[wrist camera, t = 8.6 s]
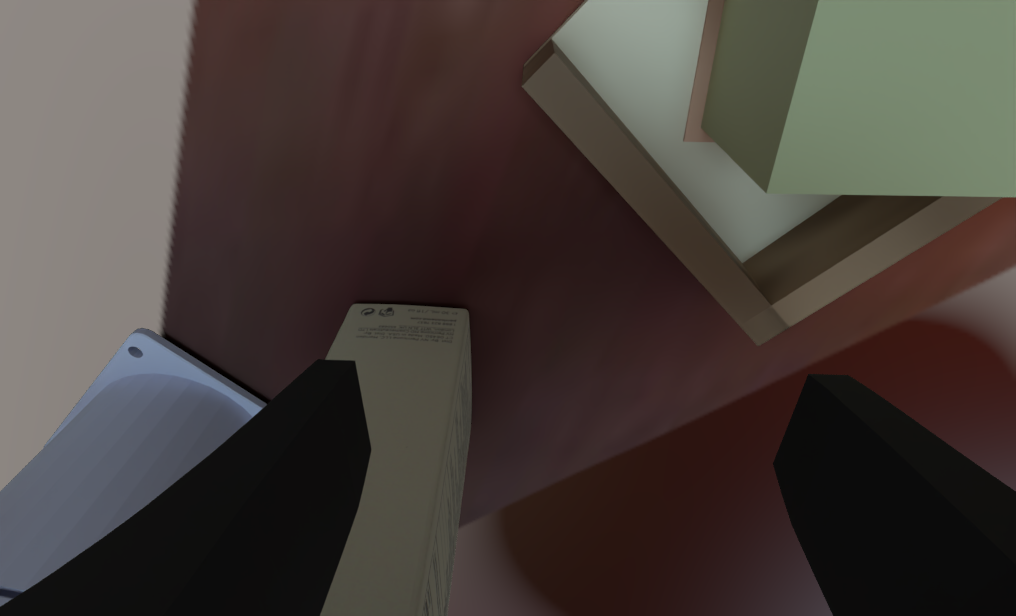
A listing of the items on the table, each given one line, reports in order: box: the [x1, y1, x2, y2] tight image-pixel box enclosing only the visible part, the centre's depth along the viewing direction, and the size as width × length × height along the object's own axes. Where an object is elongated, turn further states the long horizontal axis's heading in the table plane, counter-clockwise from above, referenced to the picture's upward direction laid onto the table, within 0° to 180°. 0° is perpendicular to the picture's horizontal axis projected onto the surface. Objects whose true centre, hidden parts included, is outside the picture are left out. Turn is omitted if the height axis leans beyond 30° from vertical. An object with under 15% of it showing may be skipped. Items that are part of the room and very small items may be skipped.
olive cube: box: [701, 0, 1016, 197], centre depth 11 cm, size 5×5×5 cm
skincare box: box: [320, 304, 472, 616], centre depth 16 cm, size 6×4×12 cm
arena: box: [522, 0, 1002, 346], centre depth 13 cm, size 11×10×3 cm
